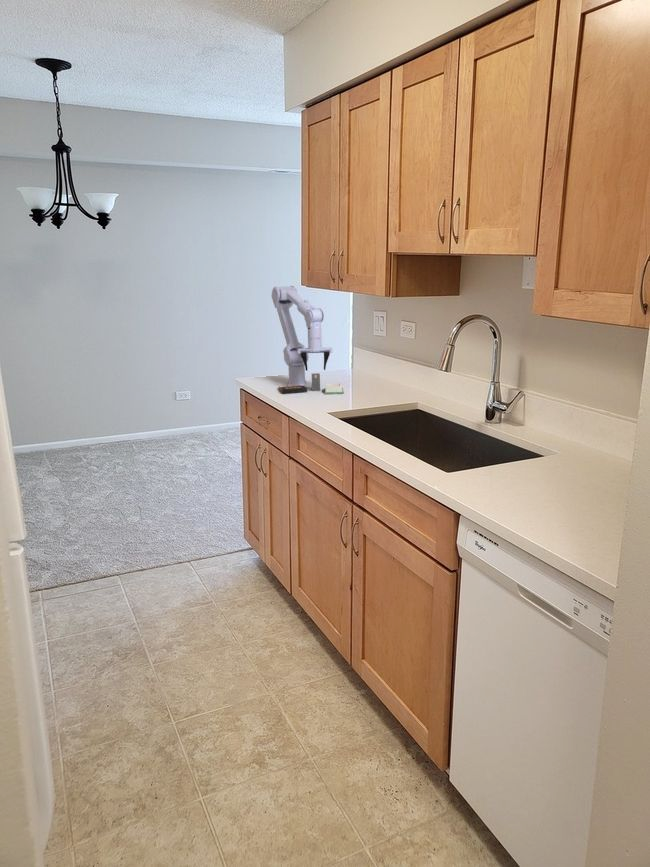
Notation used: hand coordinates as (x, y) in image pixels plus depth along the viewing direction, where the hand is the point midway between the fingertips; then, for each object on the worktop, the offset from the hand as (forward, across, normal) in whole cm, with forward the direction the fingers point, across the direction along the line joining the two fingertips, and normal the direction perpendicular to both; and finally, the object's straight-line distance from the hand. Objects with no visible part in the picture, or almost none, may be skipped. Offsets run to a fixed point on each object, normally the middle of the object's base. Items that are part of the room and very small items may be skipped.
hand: (315, 369), depth 281 cm
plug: (+9, 0, 0) cm, 9 cm away
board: (+9, +8, -4) cm, 12 cm away
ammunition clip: (+8, -9, -5) cm, 13 cm away
